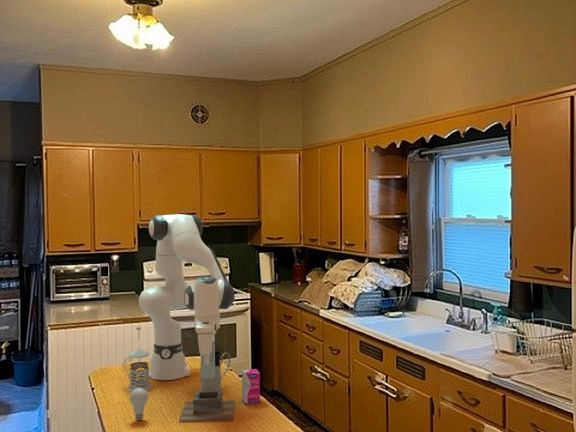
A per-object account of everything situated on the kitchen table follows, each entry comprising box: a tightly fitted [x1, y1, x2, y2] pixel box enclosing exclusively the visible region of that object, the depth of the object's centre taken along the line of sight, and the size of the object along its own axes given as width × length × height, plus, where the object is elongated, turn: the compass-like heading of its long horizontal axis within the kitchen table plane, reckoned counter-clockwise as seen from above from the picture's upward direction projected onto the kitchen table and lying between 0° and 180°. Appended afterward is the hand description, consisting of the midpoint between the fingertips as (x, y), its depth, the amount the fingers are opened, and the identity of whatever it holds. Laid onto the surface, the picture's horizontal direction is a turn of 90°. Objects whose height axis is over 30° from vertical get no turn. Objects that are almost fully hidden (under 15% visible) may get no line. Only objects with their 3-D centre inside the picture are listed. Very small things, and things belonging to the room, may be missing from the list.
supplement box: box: [241, 368, 261, 405], centre depth 217 cm, size 6×6×12 cm
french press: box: [122, 325, 153, 393], centre depth 235 cm, size 10×12×25 cm
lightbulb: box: [129, 388, 149, 421], centre depth 199 cm, size 6×6×11 cm
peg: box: [200, 340, 216, 380], centre depth 206 cm, size 4×4×12 cm
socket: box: [178, 390, 236, 423], centre depth 207 cm, size 18×18×6 cm
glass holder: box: [199, 350, 231, 392], centre depth 233 cm, size 9×14×15 cm, turn 135°
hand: (207, 362), depth 206 cm, fingers closed on peg, 4 cm apart
